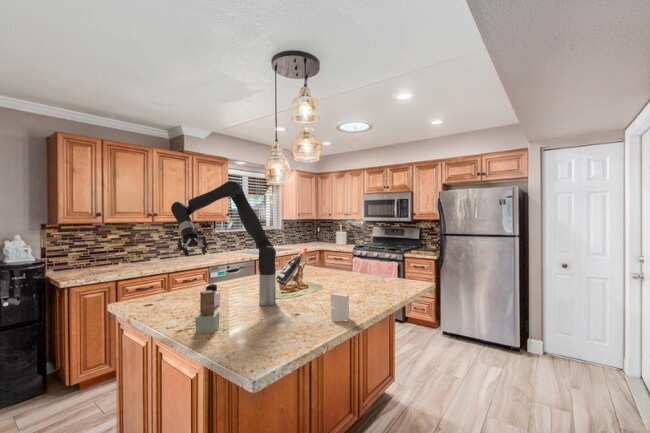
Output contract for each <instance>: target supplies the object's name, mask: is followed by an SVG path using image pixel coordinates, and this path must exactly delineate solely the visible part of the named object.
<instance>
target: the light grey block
mask: <svg viewBox="0 0 650 433" xmlns="http://www.w3.org/2000/svg"><path fill="white" fill-rule="evenodd" d="M349 298H350V295H349V294H345V293H338V292H332V293H331V294H330V320H331V319H332V320H334V321H333V322H335V321H345V320H348V319H349V320H350V299H349ZM332 320H331V321H332ZM349 320H348V321H349Z"/></svg>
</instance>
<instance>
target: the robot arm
mask: <svg viewBox="0 0 650 433" xmlns="http://www.w3.org/2000/svg"><path fill="white" fill-rule="evenodd" d="M229 197H230V199H231V200H232V202H233V203H234V205H235V207H236V209H237V210H236V211H237V214H238V216H239V217H238V218H239V219H240V222H241V223H242V226H243V228H244V229H245V231H246V232H247V234H248V235H249V237H250V238H251V239H252V240H253V241H254V243H255V244H256V247H257V248H258V271H259V272H258V274H259V275H258V278H259V279H258V280H259V283H258V285H259V286H258V287H259V290H258V291H259V292H258V293H259V294H258V295H259V296H258V297H259V298H258V300H259V301H258V304H259V306H262V307H267V306H269V307H271V306H274V305H275V306H276V303H277V302H276V300H277V296H276V294H277V292H276V291H277V290H276V288H277V287H276V286H277V284H276V276H277V275H276V274H277V272H276V270H277V269H276V256H277V251H276V249H275V247H274V246H273V245H272V242H271V241H270V240H269V238H268V237H267V235H266V232H265V230H264V227H263V225H262V224H261V221H260V219H259V218H258V215H257V213H256V212H255V211H254V208H252V207H253V206H252V205H251V204H250V203H249V200H248V199H247V197H246V195H245V192H244V190H243V187H242V185H241V183H239V182H238V181H236V180H228V181H225V182H224V183H223V184H221V185H220V186H218V187H215V189H212V190H210V191H207V192H205V193H203V194H200V195H198V196H195V197H192V198H191V199H189V200H188V206H186V205H185V204H184V203H183V202H181V201H175V202H173V203H172V204H171V206H170V208H171V209H170V211H171V213H172V215H173V217H174V219H175V220H176V222H177V225H178V230H179V233H180V236H181V238H178V239H177V241H176V243H177V244H176V245H177V248H178V251H182V252H183V255H184V256H186V257H189V255H190V253H189V250H188V247H189V248H192V247H193V248H195V247H196V248H198V249H200V250H201V253H202V255H203V256H205V255H206V253H207V250H206V249H207V247H208V242H207V240H206V238H205V237H202V238H199V236H198V233H197V231H196V227H195V226H194V224H193V221H192V218H191V217H190V216H191V215H192V214H194V213H195V212H196V211H198V210H201V209H204V208H205V207H206V208H207V207H208V206H210V205H211V204H213V203H215V202H217V201H220V200H221V199H225V198H229ZM182 243H183V244H184V245H183V244H182Z"/></svg>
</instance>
